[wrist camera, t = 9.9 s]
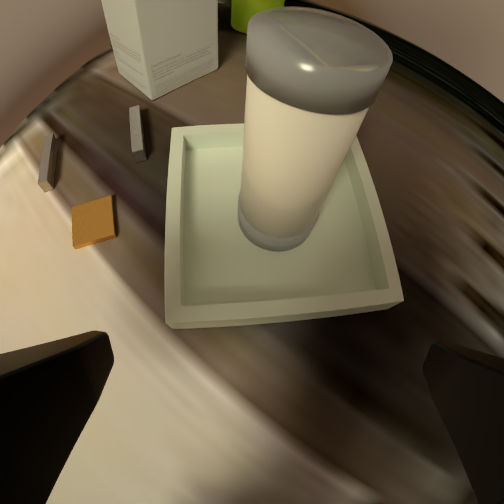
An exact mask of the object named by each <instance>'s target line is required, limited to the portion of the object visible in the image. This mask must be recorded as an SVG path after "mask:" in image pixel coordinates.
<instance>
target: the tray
mask: <svg viewBox="0 0 504 504" xmlns="http://www.w3.org/2000/svg"><path fill="white" fill-rule="evenodd" d="M243 137H244V124H221V125H202V126H188V127H176V128H172V134H171V145H170V157H169V169H168V184H167V201H166V224H165V271H164V289H165V323H166V324H167V325H168V326H170V327H171V328H172V329H189V328H209V327H226V326H241V325H255V324H267V323H278V322H289V321H299V320H308V319H317V318H326V317H334V316H342V315H350V314H357V313H364V312H371V311H378V310H385V309H389V308H391V307H393V306H395V305H397V304H398V303H400V302H402V301H404V298H403V293H402V288H401V283H400V279H399V274H398V270H397V266H396V261H395V257H394V253H393V249H392V245H391V241H390V238H389V234H388V230H387V227H386V223H385V219H384V216H383V213H382V209H381V206H380V203H379V199H378V196H377V193H376V190H375V187H374V184H373V180H372V177H371V175H370V172H369V169H368V166H367V163H366V160H365V157H364V154H363V152H362V149H361V146H360V144H359V141H358V138H357V136H356V137H355V139H354V141H353V143H352V145H351V147H350V149H349V152H348V154H347V156H346V158H345V160H344V162H343V164H342V166H341V168H340V171H339V173H338V175H337V177H336V179H335V181H334V183H333V185H332V187H331V189H330V191H329V193H328V195H327V197H326V199H325V201H324V203H323V205H322V207H321V209H320V212H319V216H318V219H317V221H316V223H315V225H314V227H313V229H312V231H311V233H310V235H309V237H308V238H307V239H306V240H305V241H304V242H303V243H302V244H301V245H299V246H298V247H296V248H294V249H291V250H288V251H281V252H276V251H269V250H265V249H262V248H260V247H258V246H256V245H254V244H253V243H252V242H250V241H249V240H248V239H247V238H246V237H245V235H244V234H243V232H242V231H241V229H240V226H239V223H238V217H237V216H238V197H239V193H240V189H241V171H242V154H243Z"/></svg>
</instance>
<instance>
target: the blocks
mask: <svg viewBox="0 0 504 504" xmlns="http://www.w3.org/2000/svg"><path fill="white" fill-rule="evenodd" d="M129 112H130V130H131V144H132V153H133V156H134V159H135V161H136V163H138V162H142V161H145V160H147V158H146V150H145V141H144V132H143V122H142V114H141V111H140V107H139V105H138V106H134V107H131V108H129ZM57 149H58V141H57V140H56V138H55V136H54V134H51V135H48V136H46V137H45V140H44V145H43V151H42V157H41V164H40V171H39V179H38V185H39V186H40V187H41V188H42V189H43V191H44V192H48V191H50V190H53V189H54V176H55V166H56V157H57ZM72 237H73V247H74V248H75V249H78V248H81V247H84V246H88V245H91V244H95V243H98V242H102V241H105V240H109V239H112V238H116V227H115V217H114V205H113V197H112V196H111V195H110V196H106V197H103V198H100V199H96V200H93V201H90V202H87V203H84V204H81V205H78V206H74V207H72Z"/></svg>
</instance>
